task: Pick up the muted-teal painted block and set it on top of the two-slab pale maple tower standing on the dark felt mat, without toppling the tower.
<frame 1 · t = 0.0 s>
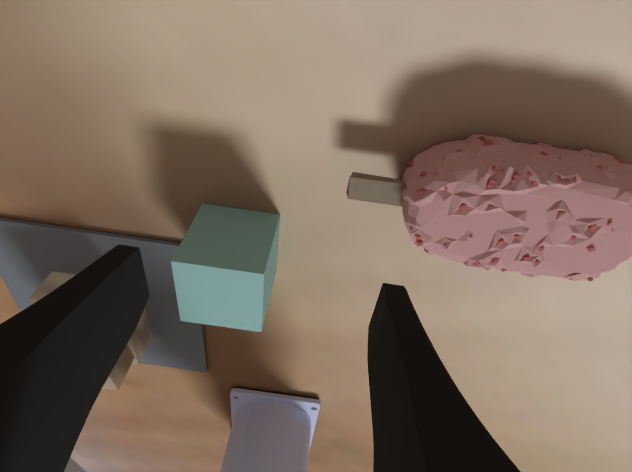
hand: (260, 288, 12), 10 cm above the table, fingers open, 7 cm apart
tower mid: (87, 334, 27), point 3 cm above the table, touching tower base
teal block: (241, 238, 24), on the table
felt mat: (107, 303, 29), on the table
tower base: (105, 306, 29), resting on felt mat, touching tower mid
ice cream bar: (487, 182, 21), on the table
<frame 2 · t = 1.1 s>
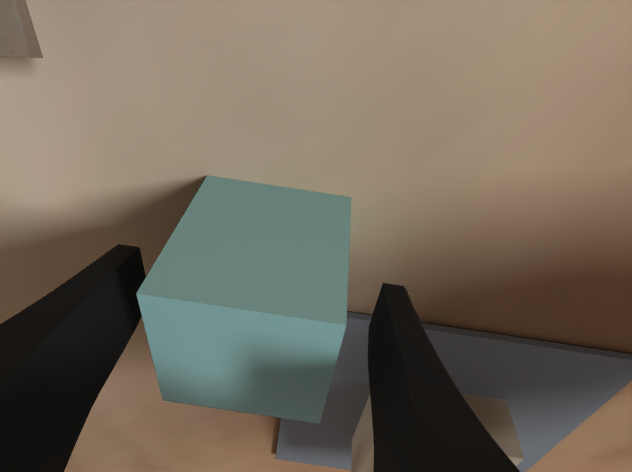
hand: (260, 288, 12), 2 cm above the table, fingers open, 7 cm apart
teal block: (275, 240, 14), on the table
felt mat: (421, 415, 20), on the table
tower base: (421, 421, 20), resting on felt mat, touching tower mid
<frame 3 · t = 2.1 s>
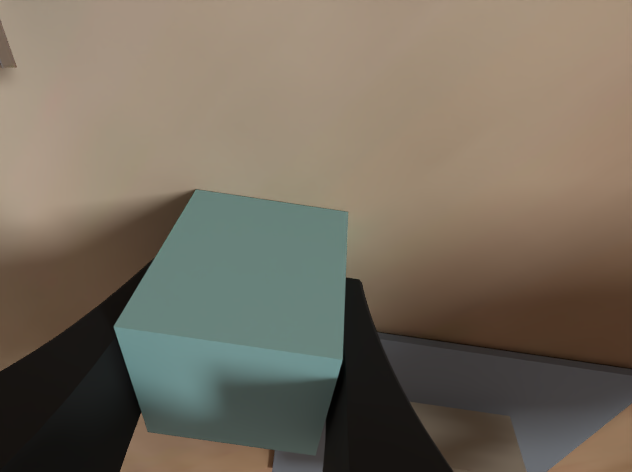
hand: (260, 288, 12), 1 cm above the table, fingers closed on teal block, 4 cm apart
teal block: (268, 257, 13), on the table, touching gripper
felt mat: (421, 430, 19), on the table
tower base: (422, 437, 19), resting on felt mat, touching tower mid
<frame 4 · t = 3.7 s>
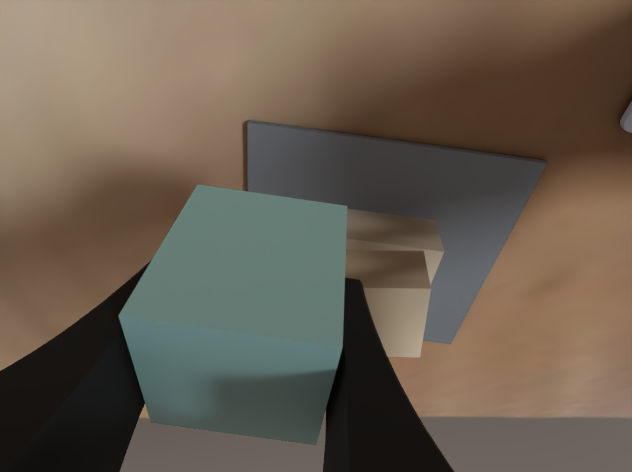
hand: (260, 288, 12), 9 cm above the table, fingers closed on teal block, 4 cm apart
tower mid: (369, 286, 21), point 3 cm above the table, touching tower base
teal block: (269, 251, 13), point 8 cm above the table, touching gripper
felt mat: (368, 251, 23), on the table
tower base: (368, 255, 23), resting on felt mat, touching tower mid
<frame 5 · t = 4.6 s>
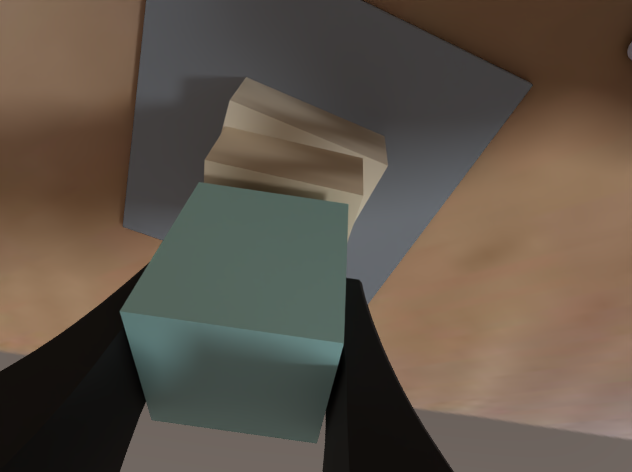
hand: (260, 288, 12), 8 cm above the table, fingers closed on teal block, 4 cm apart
tower mid: (284, 198, 16), point 3 cm above the table, touching tower base
teal block: (270, 249, 13), point 6 cm above the table, touching gripper
felt mat: (293, 164, 18), on the table
tower base: (292, 168, 18), resting on felt mat, touching tower mid
when the fingers open (8 cm above the table, at t = 5.4 s): teal block stays where it is, resting on tower mid.
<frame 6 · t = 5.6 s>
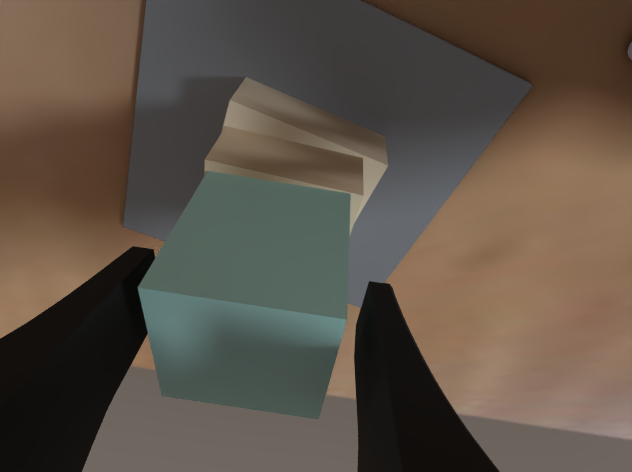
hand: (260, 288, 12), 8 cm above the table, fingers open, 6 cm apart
tower mid: (284, 198, 16), point 3 cm above the table, touching teal block, tower base
teal block: (274, 237, 14), point 5 cm above the table, touching tower mid
felt mat: (293, 164, 18), on the table
tower base: (292, 168, 18), resting on felt mat, touching tower mid
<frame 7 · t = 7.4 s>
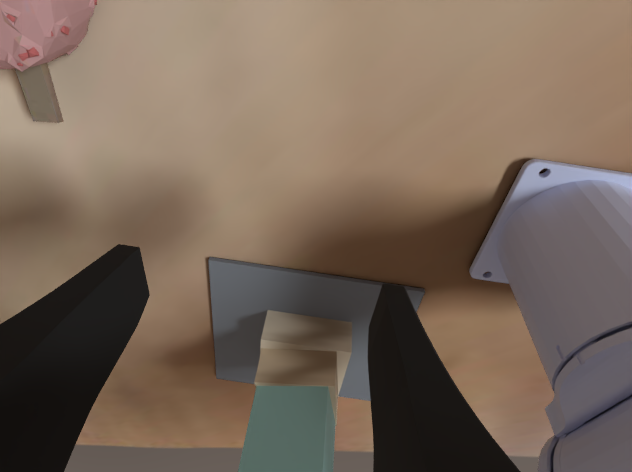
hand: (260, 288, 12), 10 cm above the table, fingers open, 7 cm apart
tower mid: (301, 371, 28), point 3 cm above the table, touching teal block, tower base
teal block: (297, 404, 26), point 5 cm above the table, touching tower mid
felt mat: (305, 338, 30), on the table
tower base: (305, 341, 30), resting on felt mat, touching tower mid
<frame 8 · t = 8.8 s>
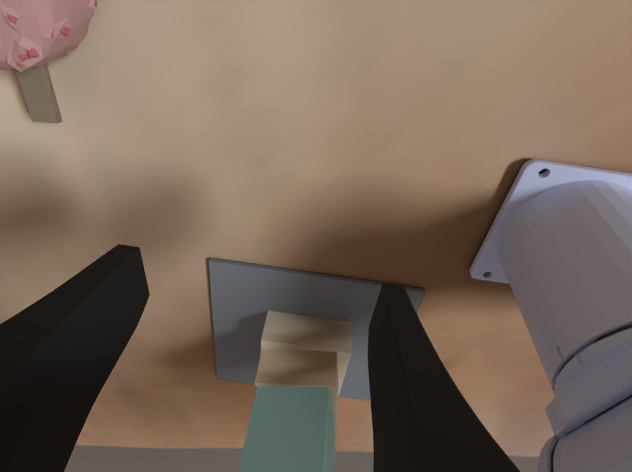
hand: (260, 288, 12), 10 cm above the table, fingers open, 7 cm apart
tower mid: (302, 371, 28), point 3 cm above the table, touching teal block, tower base
teal block: (298, 405, 26), point 5 cm above the table, touching tower mid
felt mat: (306, 338, 30), on the table
tower base: (305, 342, 30), resting on felt mat, touching tower mid
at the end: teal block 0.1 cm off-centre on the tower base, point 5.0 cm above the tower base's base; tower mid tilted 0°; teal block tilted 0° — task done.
